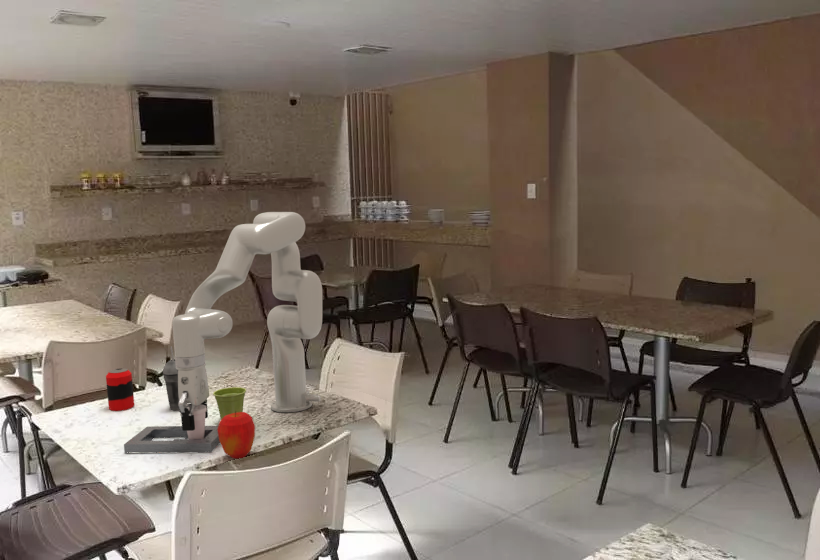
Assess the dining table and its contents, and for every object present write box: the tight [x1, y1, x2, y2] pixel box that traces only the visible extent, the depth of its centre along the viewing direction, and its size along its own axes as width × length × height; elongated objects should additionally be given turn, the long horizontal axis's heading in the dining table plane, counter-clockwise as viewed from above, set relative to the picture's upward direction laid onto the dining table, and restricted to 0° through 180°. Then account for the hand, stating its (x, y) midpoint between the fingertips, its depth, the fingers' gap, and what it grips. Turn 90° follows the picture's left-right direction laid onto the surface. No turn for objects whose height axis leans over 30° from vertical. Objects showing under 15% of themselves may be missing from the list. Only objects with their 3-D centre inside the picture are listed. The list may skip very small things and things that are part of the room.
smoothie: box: [187, 405, 208, 439], centre depth 191 cm, size 6×6×14 cm
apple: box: [217, 411, 256, 460], centre depth 180 cm, size 9×9×12 cm
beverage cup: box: [162, 346, 180, 412], centre depth 222 cm, size 7×7×20 cm
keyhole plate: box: [123, 425, 221, 454], centre depth 192 cm, size 23×14×2 cm, turn 86°
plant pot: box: [212, 386, 247, 421], centre depth 209 cm, size 9×9×9 cm
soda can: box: [105, 367, 135, 412], centre depth 226 cm, size 8×8×12 cm
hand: (195, 423), depth 191 cm, fingers open, 9 cm apart
